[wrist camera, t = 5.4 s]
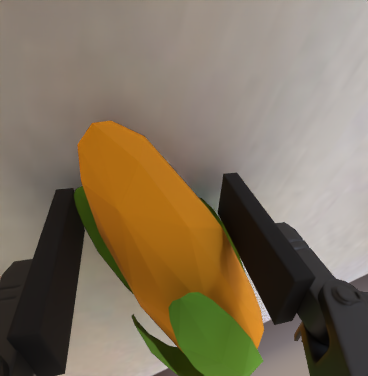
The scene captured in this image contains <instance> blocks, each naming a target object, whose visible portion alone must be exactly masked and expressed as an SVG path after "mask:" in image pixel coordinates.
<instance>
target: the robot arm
mask: <svg viewBox="0 0 368 376" xmlns="http://www.w3.org/2000/svg"><path fill="white" fill-rule="evenodd" d="M74 193H75V192H74V188H69V189H59V190H56V191H55V194H54V197H53V200H52V203H51V206H50V209H49V212H48V215H47V218H46V221H45V224H44V227H43V230H42V233H41V236H40V239H39V242H38V245H37V248H36V251H35V254H34V257H33V259H29V260H22V261H15V262H13V263H12V265H11V266H10V267H9V268H8V269H7V270H6V271H5V272H4V274H3V275H2V277H1V280H0V376H33V375H34V374H35V375H36V376H57V375H61V374H65V369H66V362H67V355H68V348H69V341H70V334H71V326H72V319H73V312H74V305H75V298H76V291H77V284H78V276H79V269H80V262H81V255H82V248H83V241H84V234H85V229H84V225H83V223H82V220H81V218H80V215H79V213H78V210H77V208H76V204H75V199H74ZM218 215H219V217H220V219H221V221H222V223H223V225H224V227H225V228H226V230H227V232H228V234H229V236H230V238H231V240H232V242H233V244H234V246H235V248H236V250H237V252H238V254H239V256H240V258H241V260H242V262H243V264H244V266H245V268H246V270H247V272H248V274H249V276H250V278H251V280H252V282H253V284H254V286H255V288H256V290H257V292H258V293H259V295H260V297H261V299H262V301H263V303H264V305H265V307H266V309H267V311H268V313H269V315H270V317H271V319H272V321H273V323H274V325H276V324H281V323H285V322H289V321H292V320H293V318H294V316H295V315H296V313H297V314H298V315H299V317H300V319H301V320H302V322H301V324H300V326H299V327H298V329H297V331H296V332H295V335H294V340H295V341H298V339H299V338H300V336H302V342H303V346H304V350H305V355H306V359H307V364H308V369H309V373H310V376H368V292H361V291H359V290H357V289H356V288H355V287H354V286H353V285H351V284H349V283H347V282H346V281H342V280H339V279H336V278H335V277H334V276H333V275H332V274H331V272H330V271H329V270H328V269H327V268H326V266H325V265H324V264H323V263H322V262H321V260H320V259H319V258H318V257H317V255H316V254H315V253H314V252H313V251H312V249H311V248H309V246H308V245H307V243H306V242H305V241H304V240H303V239H302V237H301V236H300V235H299V234H298V232H297V231H296V230H295V229H294V228H292V227H291V226H289V225H288V224H286V223H285V222H283V223H276V224H275V223H274V221H273V220H272V219H271V217H270V216H269V215H268V213H267V212H266V211H265V209H264V208H263V207H262V205H261V204H260V203H259V201H258V200H257V199H256V197H255V196H254V195H253V193H252V192H251V191H250V189H249V188H248V187H247V185H246V184H245V183H244V181H243V180H242V179H241V177H240V176H239V175H238V174H237V173H228V174H223V181H222V188H221V195H220V201H219V208H218Z"/></svg>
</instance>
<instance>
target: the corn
mask: <svg viewBox="0 0 368 376" xmlns="http://www.w3.org/2000/svg"><path fill="white" fill-rule="evenodd" d="M77 146H78V156H79V166H80V175H81V183H82V186H81V187H79V188H77V189H76V190H75V193H74V199H75V204H76V208H77V210H78V213H79V215H80V218H81V220H82V223H83V225H84V227H85V229H86V230H87V232H88V234H89V236H90V238H91V240H92V242H93V243H94V245H95V247H96V249H97V251H98V253H99V254H100V255H101V256H102V257H103V259H104V260H105V261H106V262H107V264H108V265H109V266H110V267H111V269H112V270H113V271H114V272H115V274H116V275H117V276H118V277H119V279H120V280H121V281H122V282H123V284H124V285H125V286H126V287H127V288H128V289H129V290H130V291H131V292H132V293H133V294H134V295H135V297H136V299H137V301H138V302H139V304H140V306H141V307H142V308H143V310H144V311H145V312H146V313H147V314H148V315H149V316H150V317H151V318H152V319H153V320H154V322H155V323H156V324H157V325H158V326H159V327H160V328H161V329H162V330H163V331H164V333H165V334H166V335H167V336H168V337H169V338H170V339H171V340H172V341H173V342H174V344H175V345H176V346H177V347H173V346H169V345H167V344H165V343H164V342H162V341H160V340H159V339H157V338H155V337H154V336H152V335H150V334H149V333H148V332H147V331H146V330H145V329H144V328H143V327H142V326H141V325H140V323H139V322H138V321H137V320H136V318H135V316H134V314H133V315H132V319H133V322H134V324H135V326H136V328H137V329H138V331H139V333H140V334H141V336H142V338H143V339H144V341H145V343H146V344H147V346H148V348H149V349H150V351H151V353H153V354H154V355H155V356H156V357H157V358H158V359H159V360H160V361H162V362H163V363H164V364H165V365H166V366H167V367H168V368H170V369H171V370H172V371H174V372H175V373H176V374H177V375H178V376H250V375H251V374H252V372H254V370H255V369H256V368H257V367H258V366H259V365H260V364H261V363H262V362H263V360H262V358H261V356H260V354H259V352H258V350H257V349H258V346H259V343H260V340H261V337H262V334H263V331H264V327H263V321H262V315H261V310H260V307H259V304H258V302H257V299H256V296H255V294H254V291H253V288H252V286H251V284H250V282H249V280H248V278H247V276H246V274H245V271H244V268H243V265H242V262H241V259H240V257H239V254H238V252H237V250H236V248H235V246H234V244H233V242H232V240H231V238H230V236H229V234H228V232H227V230H226V228H225V227H224V225H223V223H222V221H221V220H220V218H219V217H218V216H217V214H216V213H215V211H214V210H213V209H212V208H211V207H210V206H209V205H208V204H207V203H206V202H205V201H204V200H203V199H202V198H198V196H197V195H196V194H195V193H194V192H193V191H192V190H191V189H190V187H189V186H188V185H187V184H186V183H185V182H184V181H183V179H182V178H181V177H180V176H179V175H178V174H177V173H176V171H175V170H174V169H173V168H172V167H171V166H170V165H169V164H168V162H167V161H166V160H165V159H164V158H163V157H162V156H161V154H160V153H159V152H158V151H157V150H156V149H155V148H154V147H153V145H152V144H151V143H150V142H149V141H148V140H147V139H146V137H145V136H143V135H141V134H139V133H136V132H134V131H132V130H130V129H128V128H126V127H124V126H122V125H119V124H117V123H115V122H113V121H103V122H96V123H92V124H91V125H90V127H89V128H88V130H87V131H86V133H85V134H84V136H83V137H82V139H81V140H80V142H79V143H78V145H77Z"/></svg>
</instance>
